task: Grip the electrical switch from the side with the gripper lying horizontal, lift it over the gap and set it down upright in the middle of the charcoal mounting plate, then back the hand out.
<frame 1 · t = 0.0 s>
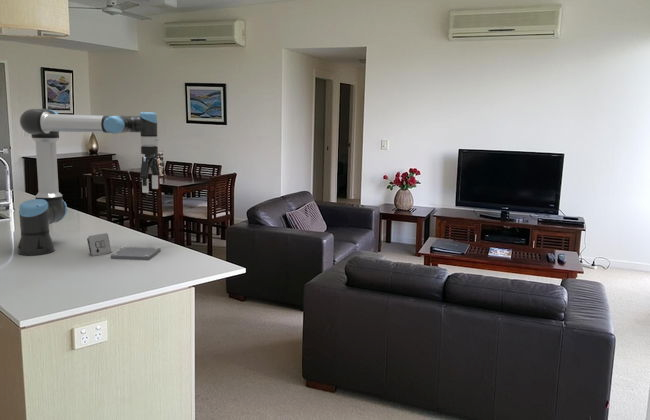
hand: (150, 190, 264), 28 cm above the table, tool pointing down, fingers open, 13 cm apart
mounting plate: (136, 254, 255), on the table
electrical switch: (98, 254, 256), on the table
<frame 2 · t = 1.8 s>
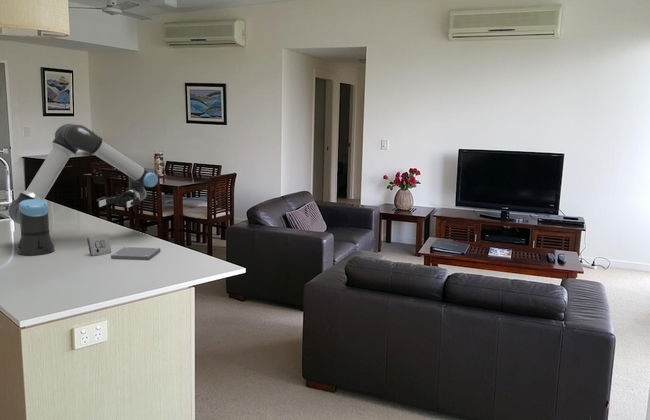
hand: (113, 204, 271), 20 cm above the table, tool horizontal, fingers open, 13 cm apart
nothing on the table moved.
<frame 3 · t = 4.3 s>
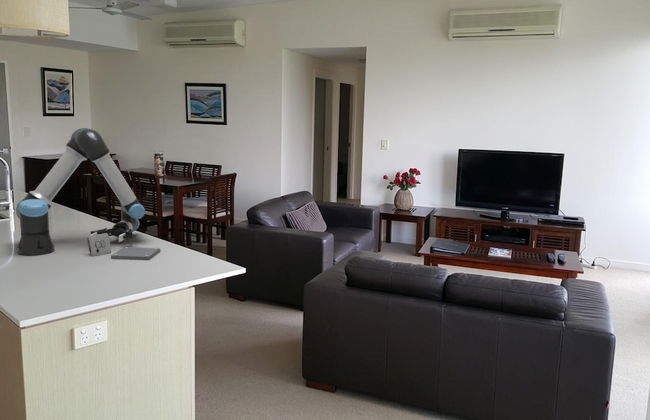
hand: (104, 238, 260), 6 cm above the table, tool horizontal, fingers open, 13 cm apart
nothing on the table moved.
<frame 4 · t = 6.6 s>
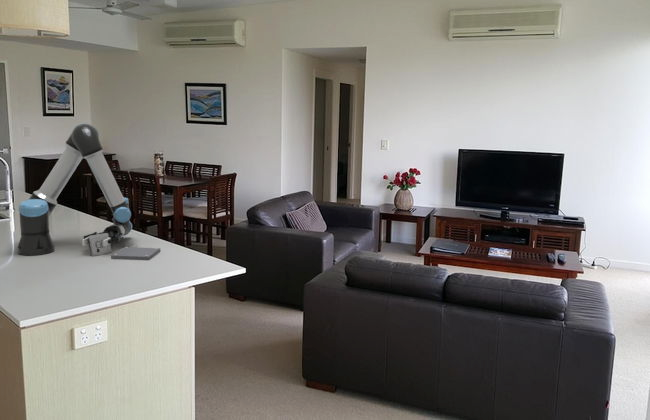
hand: (93, 243, 250), 6 cm above the table, tool horizontal, fingers open, 9 cm apart
electrical switch: (99, 254, 256), on the table, touching gripper
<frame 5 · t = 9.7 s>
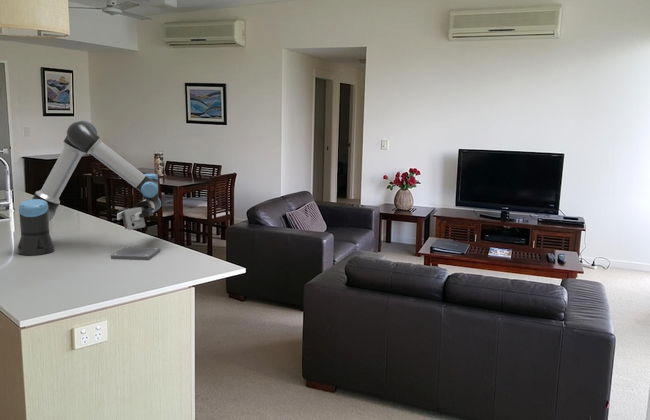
hand: (126, 217, 248), 18 cm above the table, tool horizontal, fingers closed on electrical switch, 7 cm apart
electrical switch: (133, 228, 254), point 12 cm above the table, touching gripper
when the fingers open (9 cm above the table, at t = 12.5 s): electrical switch drops 1 cm, resting on mounting plate.
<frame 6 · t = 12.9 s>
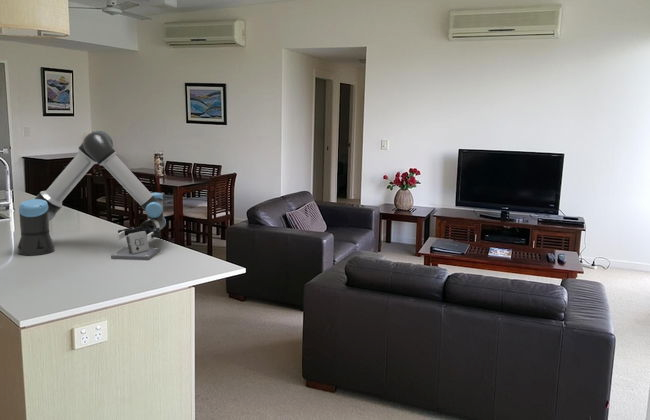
hand: (133, 237, 250), 9 cm above the table, tool horizontal, fingers open, 13 cm apart
electrical switch: (137, 252, 255), point 1 cm above the table, touching mounting plate
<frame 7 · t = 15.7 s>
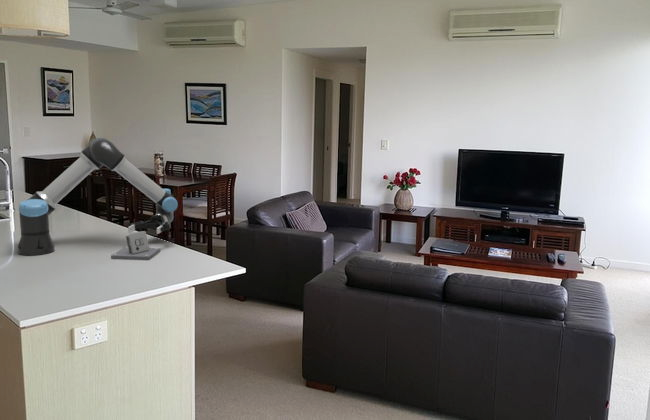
hand: (143, 230, 263), 9 cm above the table, tool horizontal, fingers open, 13 cm apart
nothing on the table moved.
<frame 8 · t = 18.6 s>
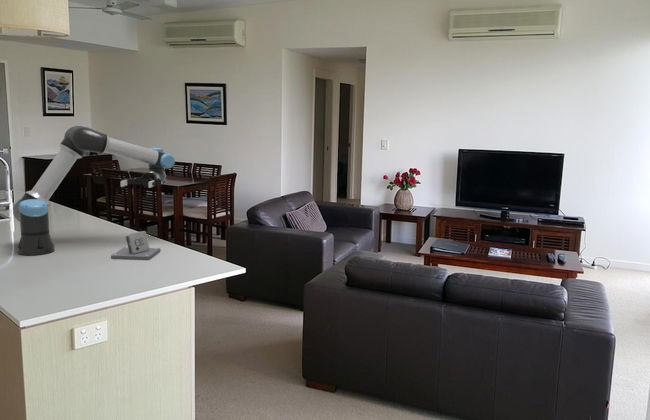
hand: (135, 184, 269), 30 cm above the table, tool horizontal, fingers open, 13 cm apart
nothing on the table moved.
at the end: electrical switch inside the target area on the mounting plate (0.5 cm from its centre), point 1.3 cm above the mounting plate's base; electrical switch tilted 2°; the gripper is holding nothing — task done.
